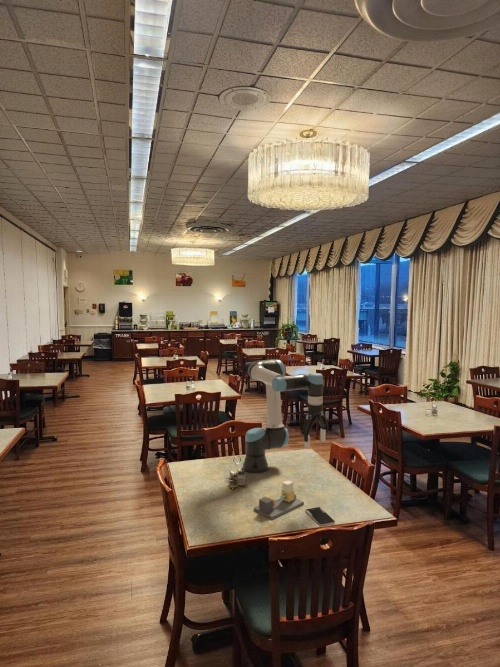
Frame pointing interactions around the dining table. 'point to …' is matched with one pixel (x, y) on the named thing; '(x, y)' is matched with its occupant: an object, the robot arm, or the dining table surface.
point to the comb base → (277, 506)
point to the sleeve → (288, 490)
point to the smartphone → (320, 516)
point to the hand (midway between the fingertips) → (315, 444)
